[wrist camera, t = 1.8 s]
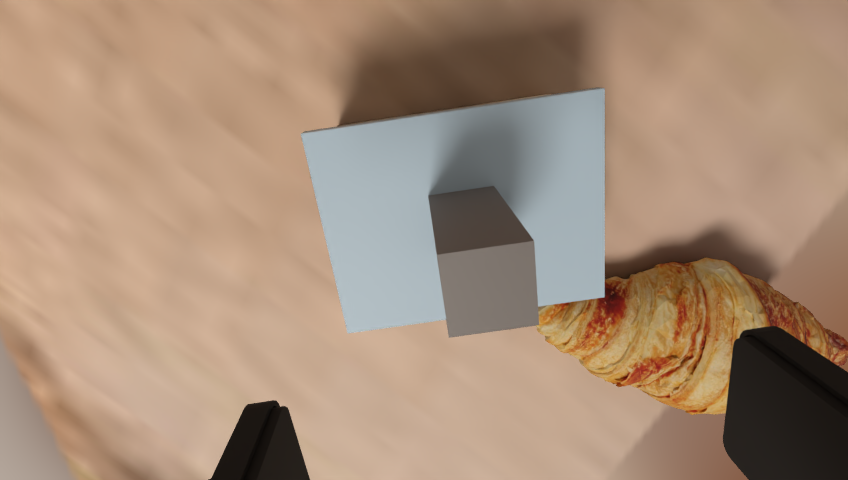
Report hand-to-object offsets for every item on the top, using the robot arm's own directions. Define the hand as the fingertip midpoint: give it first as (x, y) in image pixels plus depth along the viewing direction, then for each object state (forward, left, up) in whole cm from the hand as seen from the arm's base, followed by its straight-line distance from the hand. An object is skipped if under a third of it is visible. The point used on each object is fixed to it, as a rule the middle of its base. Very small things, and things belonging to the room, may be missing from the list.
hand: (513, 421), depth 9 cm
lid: (0, 0, -13) cm, 13 cm away
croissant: (-14, +11, -20) cm, 27 cm away
